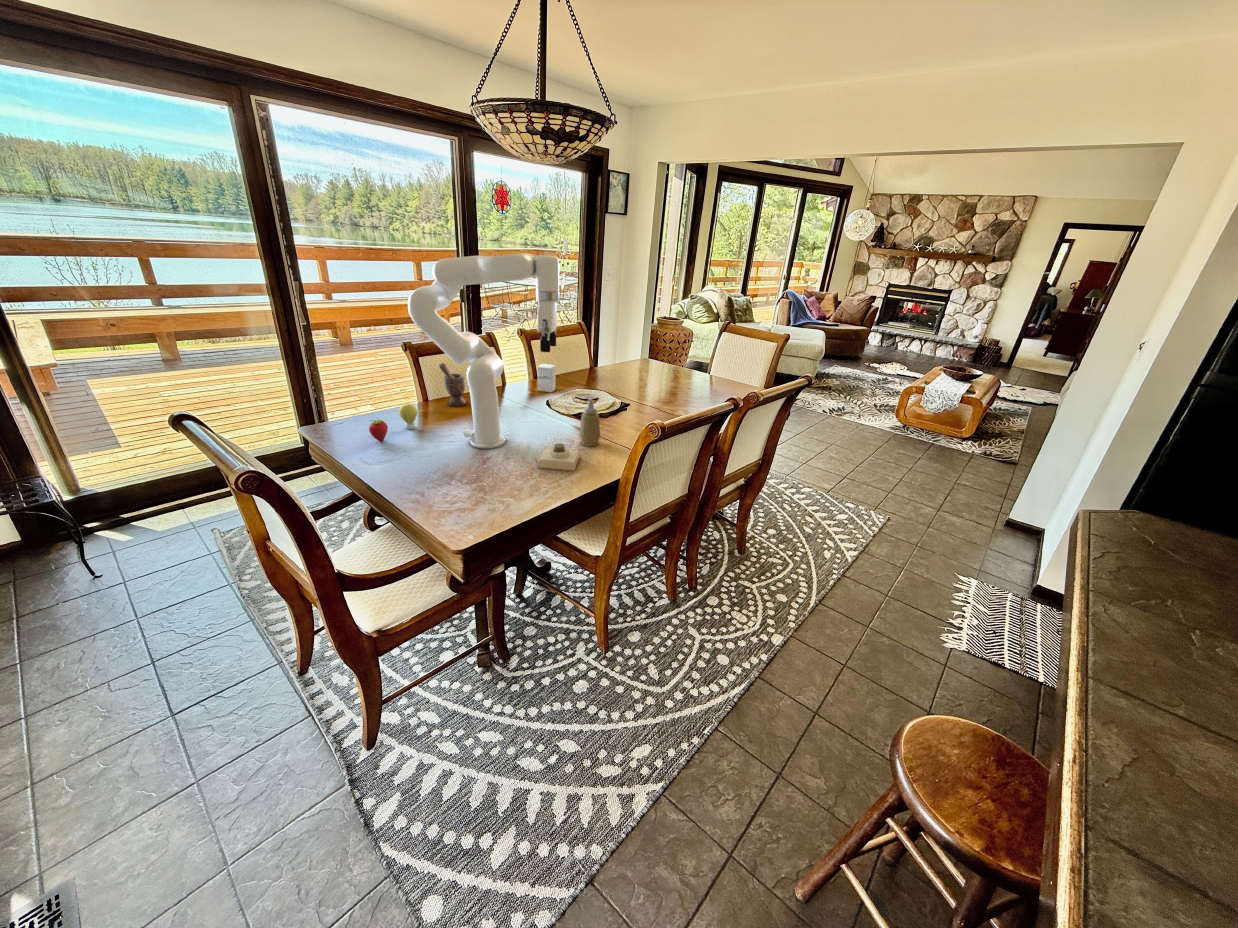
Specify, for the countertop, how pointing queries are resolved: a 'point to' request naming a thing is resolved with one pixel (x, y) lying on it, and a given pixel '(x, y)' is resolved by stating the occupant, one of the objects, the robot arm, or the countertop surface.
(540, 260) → the robot arm
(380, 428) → the strawberry
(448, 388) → the mortar and pestle
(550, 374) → the white packaging box
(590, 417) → the squeeze bottle
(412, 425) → the light bulb
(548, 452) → the beige push button box
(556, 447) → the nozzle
